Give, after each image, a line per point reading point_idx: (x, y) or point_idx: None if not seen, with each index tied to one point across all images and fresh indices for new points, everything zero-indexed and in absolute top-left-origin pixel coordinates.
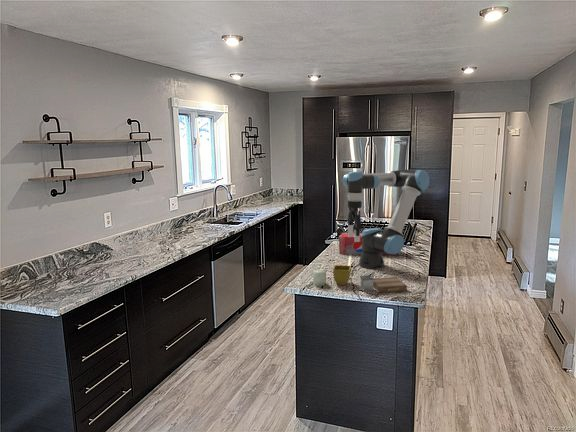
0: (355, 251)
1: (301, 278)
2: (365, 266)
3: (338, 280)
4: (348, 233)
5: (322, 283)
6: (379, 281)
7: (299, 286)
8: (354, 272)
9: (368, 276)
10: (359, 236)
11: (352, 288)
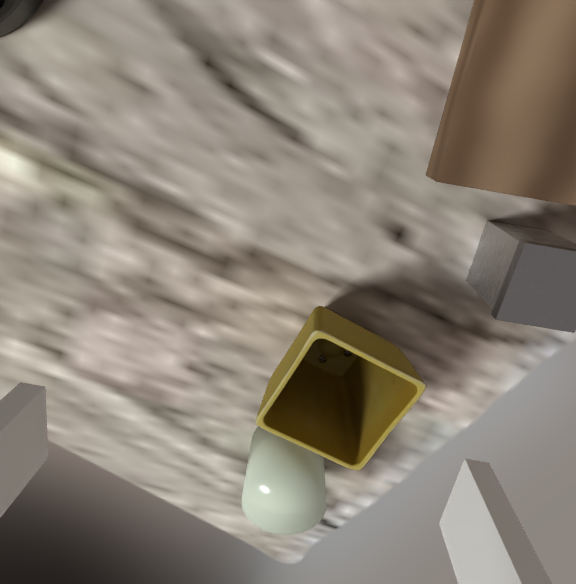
0: None
1: (169, 490)
2: (20, 15)
3: (361, 392)
4: (10, 503)
5: None
6: (525, 152)
7: None
8: (128, 168)
9: (543, 269)
10: (529, 553)
11: (440, 323)
